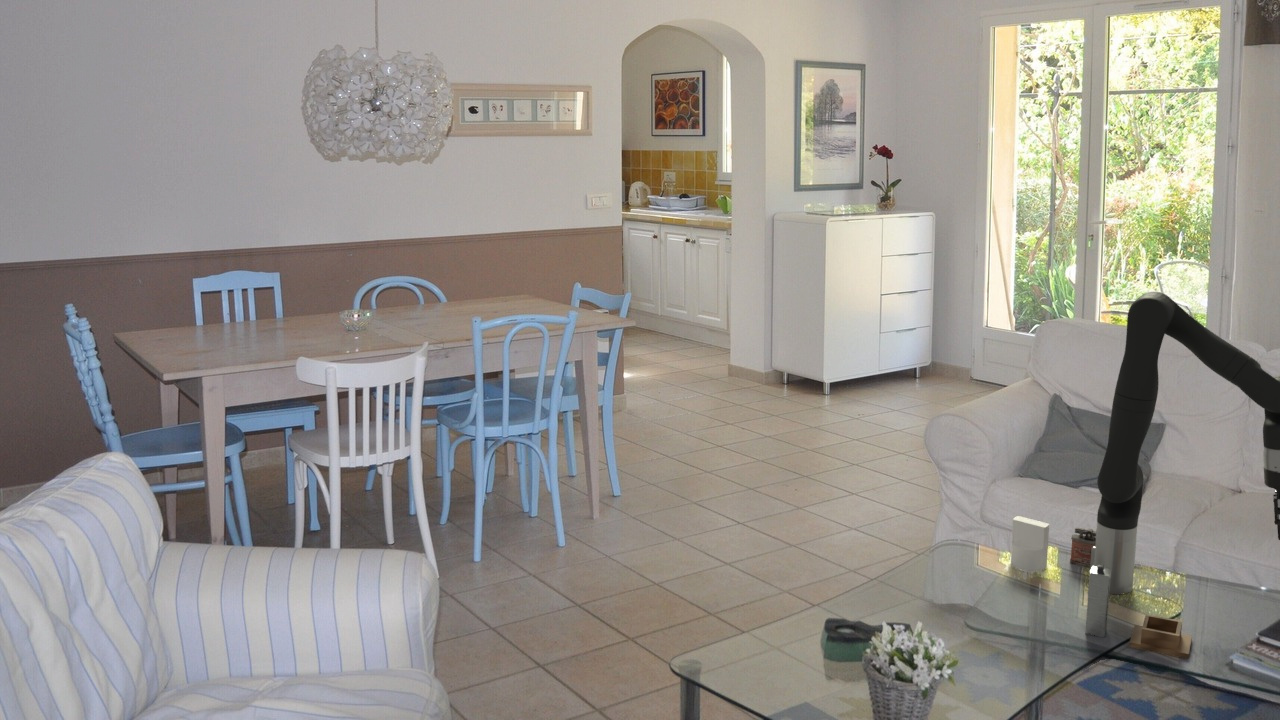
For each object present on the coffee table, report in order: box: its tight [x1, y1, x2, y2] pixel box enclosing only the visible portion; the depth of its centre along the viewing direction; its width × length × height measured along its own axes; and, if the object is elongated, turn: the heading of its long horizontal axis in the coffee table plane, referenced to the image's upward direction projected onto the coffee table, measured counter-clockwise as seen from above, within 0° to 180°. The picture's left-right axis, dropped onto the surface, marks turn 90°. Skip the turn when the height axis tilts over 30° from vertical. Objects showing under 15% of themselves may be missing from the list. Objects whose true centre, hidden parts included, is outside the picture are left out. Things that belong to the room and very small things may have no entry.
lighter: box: [1069, 526, 1096, 569], centre depth 291 cm, size 8×3×10 cm, turn 58°
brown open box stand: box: [1128, 613, 1193, 660], centre depth 252 cm, size 12×9×5 cm
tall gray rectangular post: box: [1085, 565, 1111, 638], centre depth 257 cm, size 4×4×17 cm
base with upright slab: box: [1010, 515, 1050, 572], centre depth 292 cm, size 9×9×12 cm
